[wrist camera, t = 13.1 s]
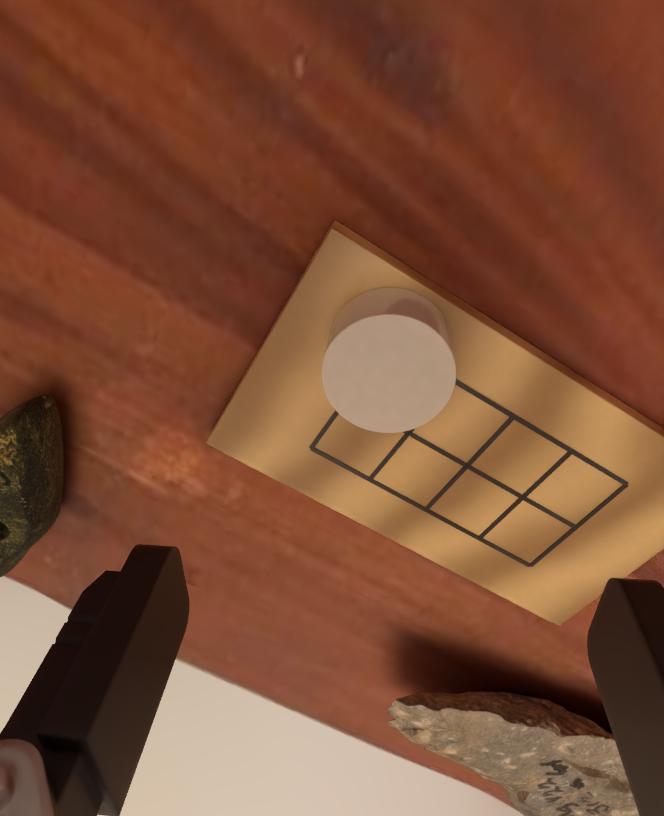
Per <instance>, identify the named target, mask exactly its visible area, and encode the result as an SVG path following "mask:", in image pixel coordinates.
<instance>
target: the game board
mask: <svg viewBox="0 0 664 816" xmlns="http://www.w3.org/2000/svg"><path fill="white" fill-rule="evenodd" d="M379 288H401V289H405V290H410V291H412V292H415V293H417V294H419V295H421V296H423V297H425V298H426V299H427V300H429V301H430V302H431V303H432V304H433V305H435V306H436V307H437V309H438V310H439V311H440V312H441V314H442V315H443V317H444V319H445V321H446V323H447V326H448V329H449V333H450V338H451V343H452V348H453V353H454V358H455V363H456V373H457V374H456V383H455V388H454V391H453V393H452V396H451V398H450V400H449V401H448V403H447V404H446V406H445V407H444V408H443V410H442V411H441V412H440V413H439V414H438V415H437V416H436V417H434V418H433V419H432V420H430V421H429V422H427V423H426V424H424V425H422V426H420V427H417V428H415V429H412V430H409V431H404V432H399V433H379V432H373V431H369V430H366V429H363V428H360V427H358V426H356V425H354V424H352V423H350V422H349V421H347V420H346V419H345V418H343V417H342V416H341V415H340V414H339V413H338V412H337V411H336V410H335V409H334V408H333V406H332V405H331V404H330V402H329V400H328V398H327V397H326V394H325V392H324V389H323V385H322V378H321V369H322V362H323V358H324V354H325V350H326V346H327V342H328V337H329V333H330V329H331V326H332V324H333V321H334V320H335V318H336V316H337V314H338V313H339V312H340V310H341V309H342V308H343V307H344V306H345V305H346V304H347V303H348V302H350V301H351V300H352V299H353V298H355V297H357V296H359V295H360V294H363V293H365V292H367V291H371V290H374V289H379ZM206 444H207V445H209V446H211V447H213V448H215V449H217V450H219V451H221V452H223V453H225V454H227V455H229V456H231V457H232V458H234V459H236V460H238V461H240V462H242V463H244V464H246V465H248V466H250V467H252V468H254V469H256V470H258V471H260V472H261V473H263V474H265V475H267V476H269V477H271V478H273V479H275V480H277V481H279V482H281V483H283V484H285V485H287V486H289V487H290V488H292V489H294V490H296V491H298V492H300V493H302V494H304V495H306V496H308V497H310V498H312V499H314V500H316V501H317V502H319V503H321V504H323V505H325V506H327V507H329V508H331V509H333V510H335V511H337V512H339V513H341V514H343V515H345V516H346V517H348V518H350V519H352V520H354V521H356V522H358V523H360V524H362V525H364V526H366V527H368V528H370V529H372V530H374V531H375V532H377V533H379V534H381V535H383V536H385V537H387V538H389V539H391V540H393V541H395V542H397V543H399V544H401V545H403V546H404V547H406V548H408V549H410V550H412V551H414V552H416V553H418V554H420V555H422V556H424V557H426V558H428V559H430V560H431V561H433V562H435V563H437V564H439V565H441V566H443V567H445V568H447V569H449V570H451V571H453V572H455V573H457V574H459V575H460V576H462V577H464V578H466V579H468V580H470V581H472V582H474V583H476V584H478V585H480V586H482V587H484V588H486V589H488V590H489V591H491V592H493V593H495V594H497V595H499V596H501V597H503V598H505V599H507V600H509V601H511V602H513V603H515V604H517V605H518V606H520V607H522V608H524V609H526V610H528V611H530V612H532V613H534V614H536V615H538V616H540V617H542V618H544V619H545V620H547V621H549V622H551V623H553V624H555V625H557V626H560V625H561V624H563V623H564V622H565V621H567V620H568V619H569V618H571V617H572V616H573V615H575V614H576V613H577V612H579V611H580V610H581V609H583V608H584V607H585V606H587V605H588V604H590V603H591V602H592V601H594V600H595V599H596V598H598V597H599V596H600V595H602V594H603V591H604V588H605V586H606V583H607V581H608V580H609V579H610V578H625V577H626V576H627V575H629V574H630V573H631V572H633V571H634V570H635V569H637V568H638V567H639V566H641V565H642V564H643V563H645V562H646V561H648V560H649V559H650V558H652V557H653V556H654V555H656V554H657V553H658V552H660V551H661V550H662V549H664V428H662V427H661V426H659V425H657V424H656V423H654V422H653V421H651V420H650V419H648V418H646V417H645V416H643V415H642V414H640V413H639V412H637V411H635V410H634V409H632V408H631V407H629V406H628V405H626V404H624V403H623V402H621V401H620V400H618V399H616V398H615V397H613V396H612V395H610V394H609V393H607V392H605V391H604V390H602V389H601V388H599V387H598V386H596V385H594V384H593V383H591V382H590V381H588V380H587V379H585V378H583V377H582V376H580V375H579V374H577V373H575V372H574V371H572V370H571V369H569V368H568V367H566V366H564V365H563V364H561V363H560V362H558V361H557V360H555V359H553V358H552V357H550V356H549V355H547V354H546V353H544V352H542V351H541V350H539V349H538V348H536V347H534V346H533V345H531V344H530V343H528V342H527V341H525V340H523V339H522V338H520V337H519V336H517V335H516V334H514V333H512V332H511V331H509V330H508V329H506V328H505V327H503V326H501V325H500V324H498V323H497V322H495V321H493V320H492V319H490V318H489V317H487V316H486V315H484V314H482V313H481V312H479V311H478V310H476V309H475V308H473V307H471V306H470V305H468V304H467V303H465V302H464V301H462V300H460V299H459V298H457V297H456V296H454V295H452V294H451V293H449V292H448V291H446V290H445V289H443V288H441V287H440V286H438V285H437V284H435V283H434V282H432V281H430V280H429V279H427V278H426V277H424V276H423V275H421V274H419V273H418V272H416V271H415V270H413V269H412V268H410V267H408V266H407V265H405V264H404V263H402V262H400V261H399V260H397V259H396V258H394V257H393V256H391V255H389V254H388V253H386V252H385V251H383V250H382V249H380V248H378V247H377V246H375V245H374V244H372V243H371V242H369V241H367V240H366V239H364V238H363V237H361V236H359V235H358V234H356V233H355V232H353V231H352V230H350V229H348V228H347V227H345V226H344V225H342V224H341V223H339V222H337V221H333V223H332V225H331V227H330V228H329V230H328V232H327V233H326V235H325V237H324V239H323V240H322V242H321V244H320V245H319V247H318V249H317V251H316V252H315V254H314V256H313V257H312V259H311V261H310V263H309V264H308V266H307V268H306V269H305V271H304V273H303V275H302V276H301V278H300V280H299V281H298V283H297V285H296V287H295V288H294V290H293V292H292V293H291V295H290V297H289V299H288V300H287V302H286V304H285V305H284V307H283V309H282V311H281V312H280V314H279V316H278V317H277V319H276V321H275V323H274V324H273V326H272V328H271V329H270V331H269V333H268V335H267V336H266V338H265V340H264V341H263V343H262V345H261V347H260V348H259V350H258V352H257V353H256V355H255V357H254V359H253V360H252V362H251V364H250V365H249V367H248V369H247V371H246V372H245V374H244V376H243V377H242V379H241V381H240V383H239V384H238V386H237V388H236V389H235V391H234V393H233V395H232V396H231V398H230V400H229V401H228V403H227V405H226V407H225V408H224V410H223V412H222V413H221V415H220V417H219V419H218V420H217V422H216V424H215V425H214V427H213V429H212V431H211V433H210V435H209V437H208V439H207V441H206Z"/></svg>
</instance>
